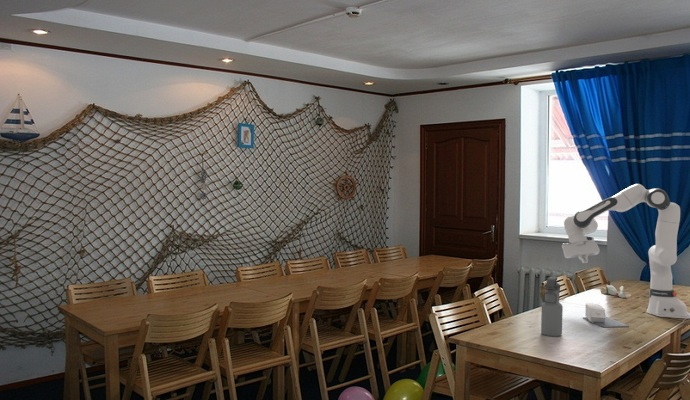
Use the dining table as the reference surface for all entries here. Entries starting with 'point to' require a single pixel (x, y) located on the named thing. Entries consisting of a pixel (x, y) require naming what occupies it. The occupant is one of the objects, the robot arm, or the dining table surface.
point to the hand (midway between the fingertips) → (585, 262)
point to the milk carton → (595, 312)
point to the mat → (609, 323)
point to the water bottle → (551, 309)
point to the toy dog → (614, 291)
